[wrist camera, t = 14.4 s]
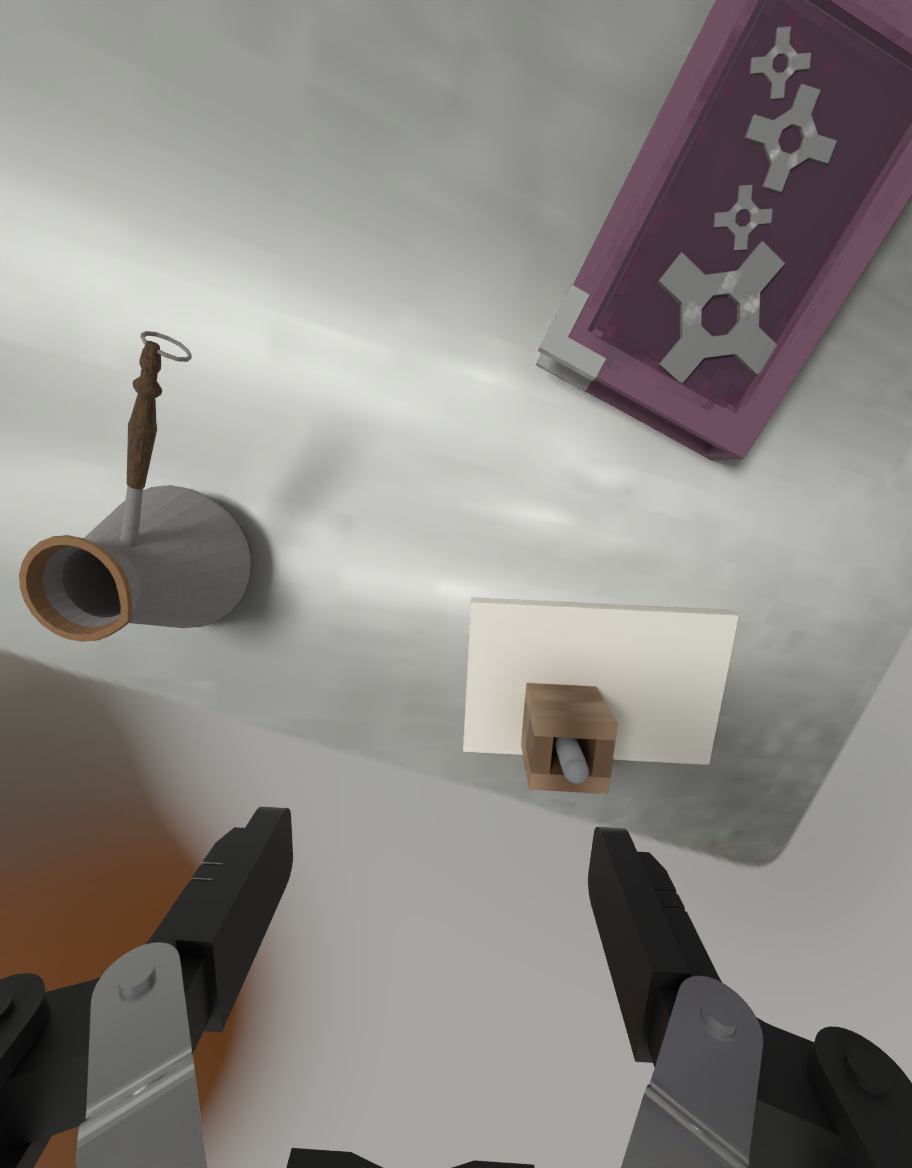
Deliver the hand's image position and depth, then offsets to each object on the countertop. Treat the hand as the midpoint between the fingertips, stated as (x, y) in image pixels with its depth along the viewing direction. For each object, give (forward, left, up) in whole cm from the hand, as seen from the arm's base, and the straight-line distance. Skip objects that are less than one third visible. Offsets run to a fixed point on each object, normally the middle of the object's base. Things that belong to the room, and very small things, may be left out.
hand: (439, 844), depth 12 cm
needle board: (-12, +8, -28) cm, 32 cm away
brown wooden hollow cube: (-9, +11, -27) cm, 30 cm away
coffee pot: (+20, -6, -28) cm, 35 cm away
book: (-17, -26, -29) cm, 42 cm away
